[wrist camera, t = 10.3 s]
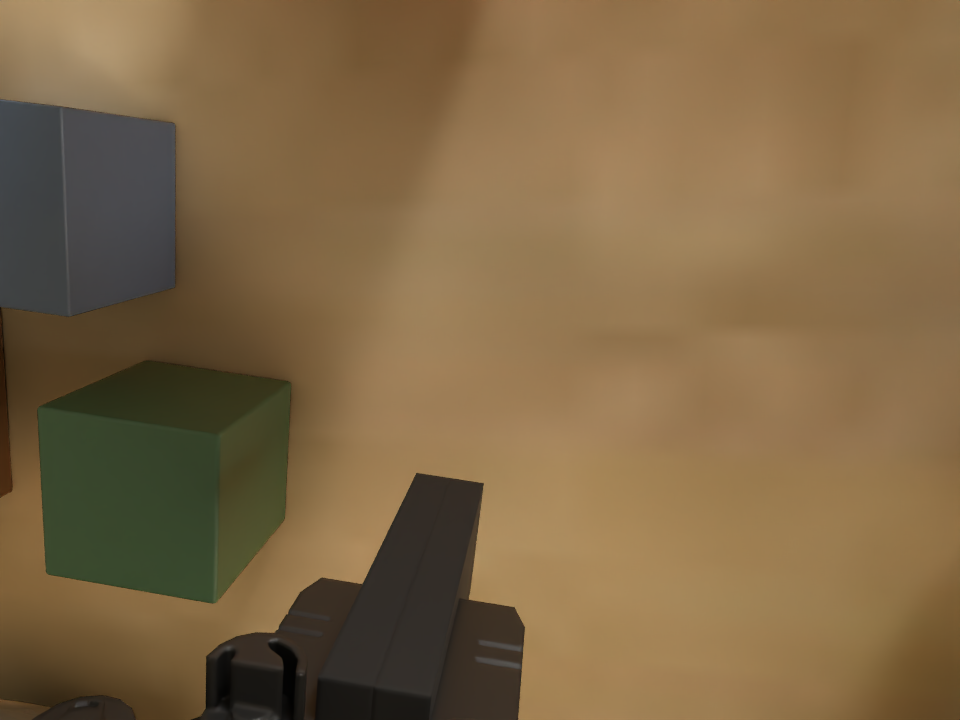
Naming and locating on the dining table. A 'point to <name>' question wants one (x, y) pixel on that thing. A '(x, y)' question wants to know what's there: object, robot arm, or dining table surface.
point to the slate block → (83, 208)
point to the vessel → (20, 710)
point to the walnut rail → (4, 429)
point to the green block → (163, 478)
